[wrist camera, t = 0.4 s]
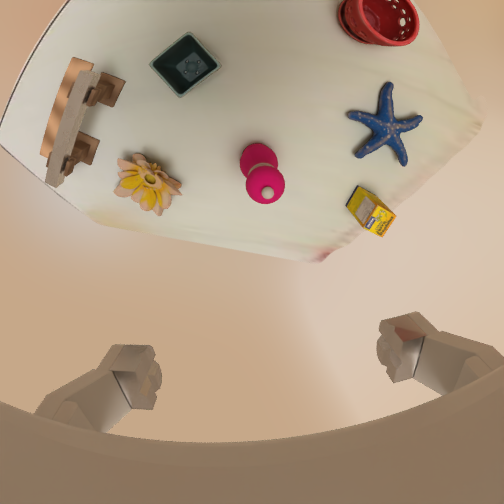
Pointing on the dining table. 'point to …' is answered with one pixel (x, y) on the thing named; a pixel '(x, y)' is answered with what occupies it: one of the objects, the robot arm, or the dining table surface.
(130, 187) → the decorative flower
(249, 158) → the pepper mill
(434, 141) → the dining table surface
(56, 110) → the light wood flat board
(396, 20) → the plant pot
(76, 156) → the walnut post
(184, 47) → the flower pot
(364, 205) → the supplement box
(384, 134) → the starfish
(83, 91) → the steel rail
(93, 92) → the walnut post
